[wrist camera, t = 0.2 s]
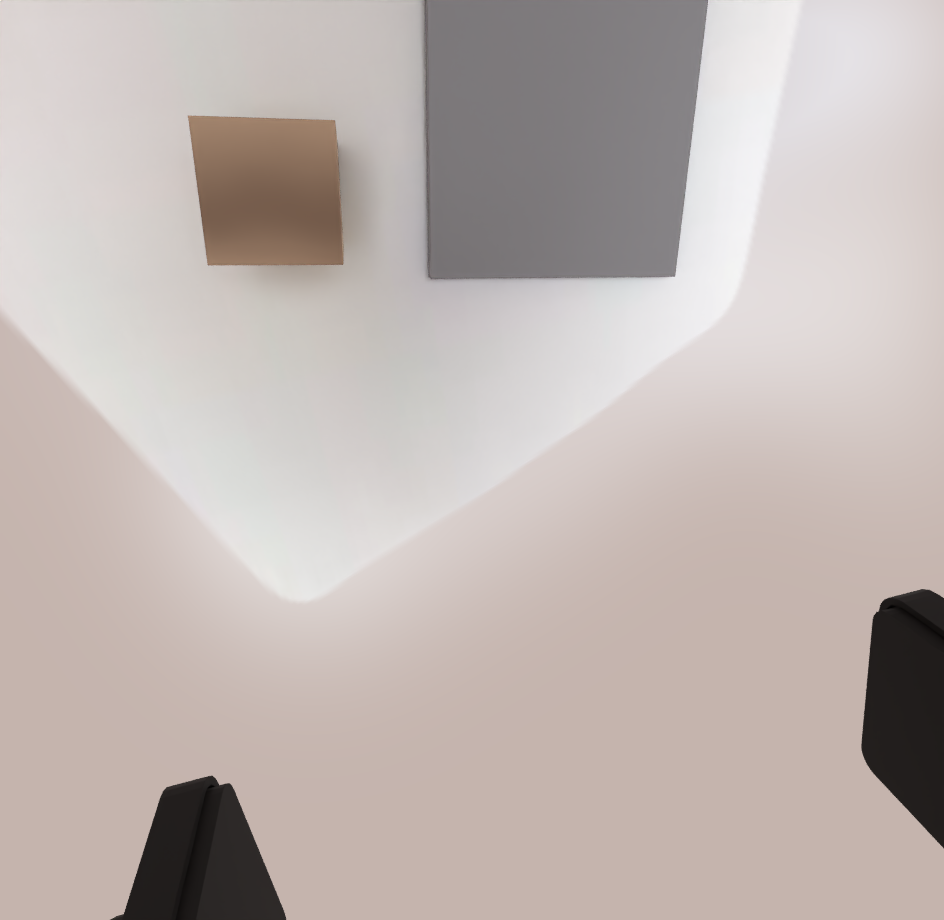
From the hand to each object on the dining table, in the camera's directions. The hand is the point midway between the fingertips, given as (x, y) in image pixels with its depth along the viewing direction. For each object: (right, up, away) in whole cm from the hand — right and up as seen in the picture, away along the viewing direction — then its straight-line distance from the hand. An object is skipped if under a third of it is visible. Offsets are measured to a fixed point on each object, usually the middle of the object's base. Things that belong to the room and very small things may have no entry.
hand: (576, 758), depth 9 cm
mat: (+3, +25, +24) cm, 35 cm away
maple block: (-11, +18, +24) cm, 32 cm away
